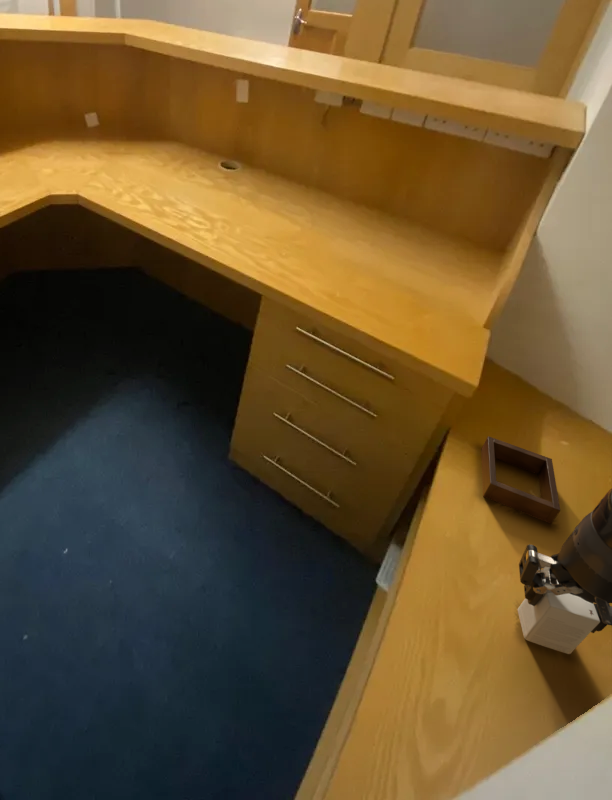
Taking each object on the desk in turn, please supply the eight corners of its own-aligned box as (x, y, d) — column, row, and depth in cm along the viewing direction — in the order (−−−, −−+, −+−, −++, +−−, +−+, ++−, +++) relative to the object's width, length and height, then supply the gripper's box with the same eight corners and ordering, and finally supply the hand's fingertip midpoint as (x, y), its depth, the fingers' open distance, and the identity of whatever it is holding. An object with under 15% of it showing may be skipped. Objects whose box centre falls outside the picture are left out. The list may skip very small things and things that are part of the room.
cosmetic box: (557, 624, 78) (590, 588, 72) (567, 658, 75) (602, 623, 69) (512, 610, 80) (541, 573, 74) (520, 643, 76) (550, 607, 70)
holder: (540, 476, 98) (552, 458, 96) (548, 527, 90) (560, 510, 87) (479, 453, 102) (487, 435, 100) (480, 500, 94) (490, 483, 92)
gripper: (547, 554, 65) (503, 612, 73) (693, 615, 59) (627, 670, 68) (539, 500, 71) (499, 560, 79) (672, 552, 65) (613, 610, 73)
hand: (558, 611), depth 73 cm, fingers closed on cosmetic box, 6 cm apart
